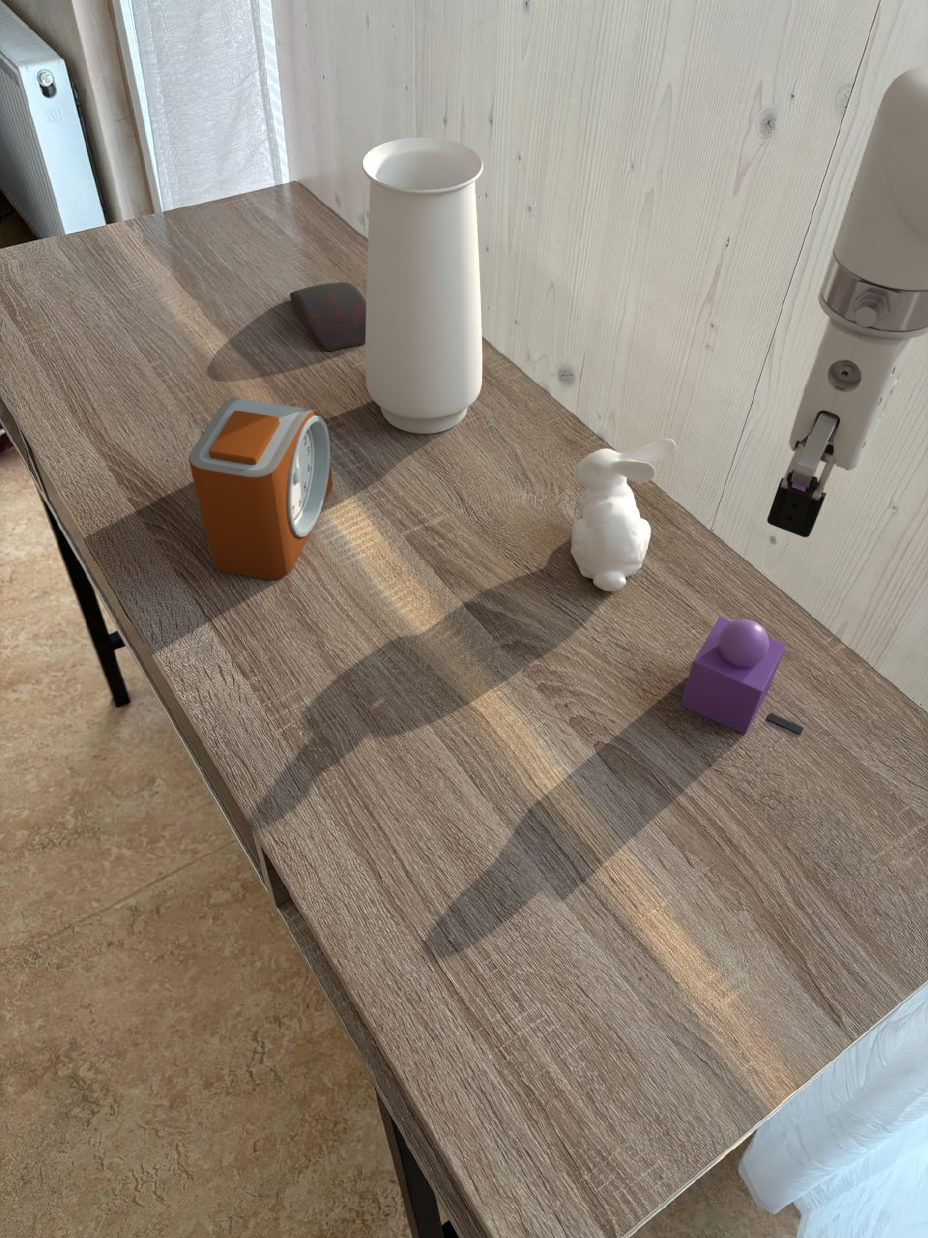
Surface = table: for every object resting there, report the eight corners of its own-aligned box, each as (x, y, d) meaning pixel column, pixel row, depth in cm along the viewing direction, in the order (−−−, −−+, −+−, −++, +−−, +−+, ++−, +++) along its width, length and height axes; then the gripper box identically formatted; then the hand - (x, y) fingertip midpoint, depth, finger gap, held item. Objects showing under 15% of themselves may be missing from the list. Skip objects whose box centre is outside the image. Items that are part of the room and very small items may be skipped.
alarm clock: (288, 584, 97) (272, 474, 87) (205, 569, 98) (179, 458, 88) (335, 486, 107) (325, 377, 97) (259, 473, 108) (241, 364, 98)
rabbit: (563, 516, 104) (575, 421, 95) (654, 518, 104) (674, 423, 95) (571, 602, 96) (585, 507, 87) (670, 604, 96) (694, 509, 87)
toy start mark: (803, 728, 87) (803, 727, 87) (800, 734, 86) (800, 734, 86) (770, 713, 88) (770, 712, 88) (767, 719, 87) (767, 719, 87)
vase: (344, 407, 116) (324, 161, 95) (424, 362, 122) (423, 122, 102) (423, 458, 110) (421, 208, 89) (504, 408, 116) (519, 164, 96)
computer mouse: (315, 355, 123) (312, 325, 120) (283, 299, 131) (280, 270, 128) (378, 341, 125) (377, 312, 122) (343, 287, 133) (341, 259, 130)
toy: (769, 688, 90) (797, 618, 83) (745, 735, 86) (772, 666, 79) (706, 660, 92) (728, 590, 85) (679, 705, 88) (700, 635, 81)
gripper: (910, 372, 58) (822, 579, 71) (973, 245, 68) (886, 446, 81) (784, 332, 60) (721, 540, 73) (863, 215, 70) (795, 415, 83)
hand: (808, 490), depth 77 cm, fingers open, 9 cm apart
